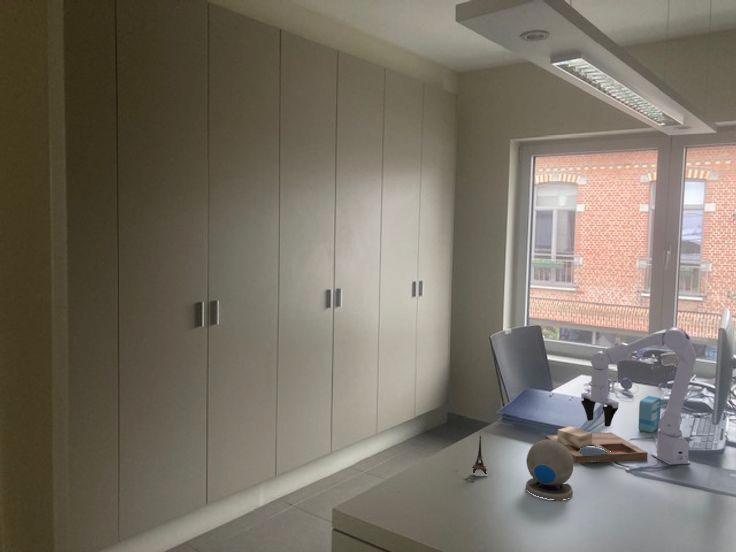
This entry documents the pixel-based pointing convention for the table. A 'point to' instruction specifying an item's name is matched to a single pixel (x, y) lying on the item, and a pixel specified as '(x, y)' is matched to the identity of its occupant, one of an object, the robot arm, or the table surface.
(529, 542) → the table surface
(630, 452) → the trap deck
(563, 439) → the birch block
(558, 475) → the webcam
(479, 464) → the eiffel tower figurine
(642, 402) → the data package
